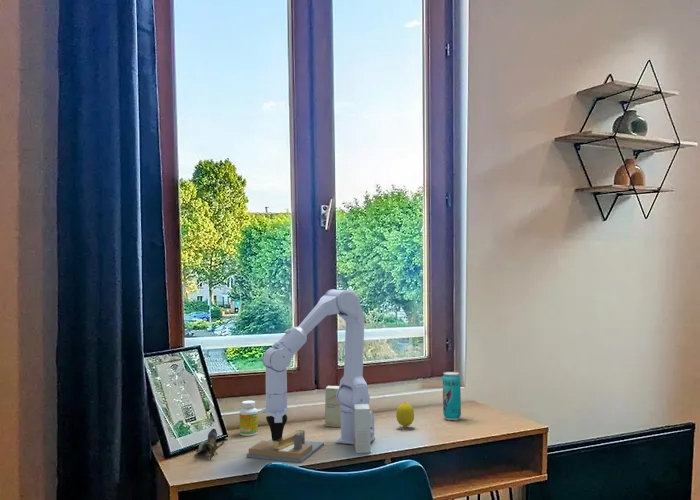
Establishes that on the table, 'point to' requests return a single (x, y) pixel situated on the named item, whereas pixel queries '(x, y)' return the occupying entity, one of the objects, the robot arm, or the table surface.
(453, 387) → the beverage can
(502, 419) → the table surface
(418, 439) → the table surface
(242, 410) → the supplement bottle
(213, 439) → the eagle figurine
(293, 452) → the latch board
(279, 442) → the swing bar
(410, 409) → the lemon
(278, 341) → the robot arm
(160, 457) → the table surface
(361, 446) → the skincare box
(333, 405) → the skincare box
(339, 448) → the table surface
